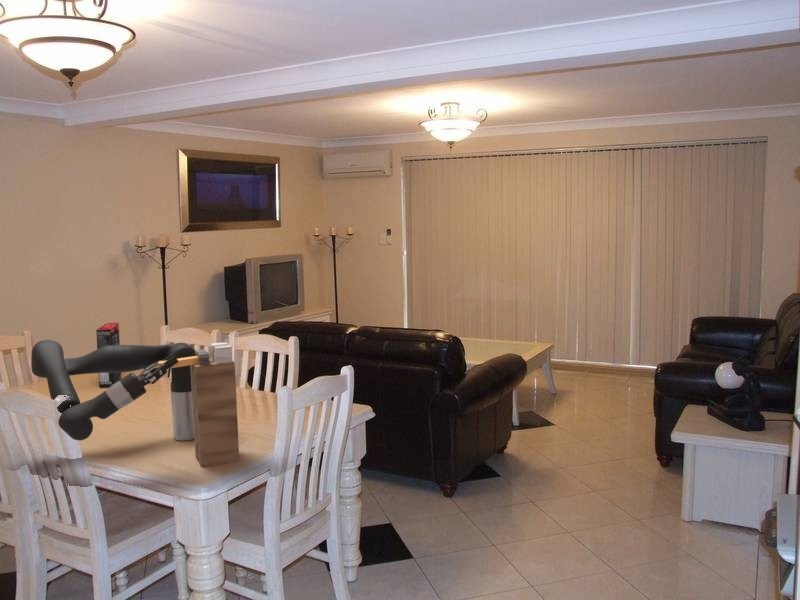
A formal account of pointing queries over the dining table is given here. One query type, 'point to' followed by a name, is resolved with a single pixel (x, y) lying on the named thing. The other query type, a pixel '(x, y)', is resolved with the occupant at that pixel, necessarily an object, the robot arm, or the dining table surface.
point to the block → (184, 361)
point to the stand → (215, 406)
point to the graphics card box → (104, 338)
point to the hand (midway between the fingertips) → (175, 357)
